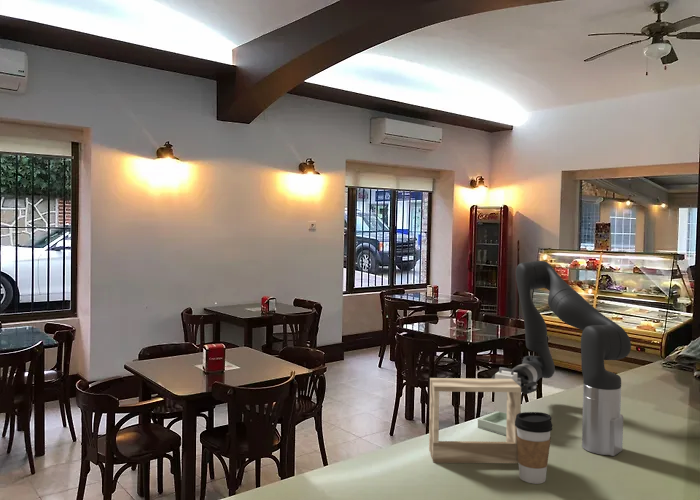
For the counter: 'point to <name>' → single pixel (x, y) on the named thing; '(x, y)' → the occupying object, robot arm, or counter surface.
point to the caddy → (501, 397)
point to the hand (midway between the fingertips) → (502, 390)
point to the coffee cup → (533, 445)
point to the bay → (474, 449)
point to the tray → (494, 422)
